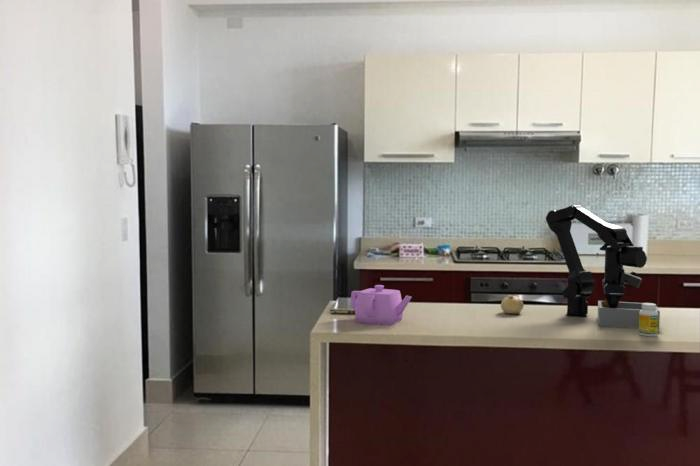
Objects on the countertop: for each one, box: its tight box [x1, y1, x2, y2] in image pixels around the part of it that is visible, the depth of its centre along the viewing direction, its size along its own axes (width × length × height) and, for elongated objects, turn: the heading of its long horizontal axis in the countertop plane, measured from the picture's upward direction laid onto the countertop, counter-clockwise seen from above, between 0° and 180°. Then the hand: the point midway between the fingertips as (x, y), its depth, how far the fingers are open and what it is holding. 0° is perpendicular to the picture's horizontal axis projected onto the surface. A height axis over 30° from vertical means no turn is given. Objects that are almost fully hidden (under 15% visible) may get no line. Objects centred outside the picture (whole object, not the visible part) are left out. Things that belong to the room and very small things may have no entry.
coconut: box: [602, 298, 620, 308], centre depth 211 cm, size 5×5×8 cm
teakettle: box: [349, 284, 412, 326], centre depth 215 cm, size 17×17×12 cm
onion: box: [500, 294, 524, 315], centre depth 228 cm, size 8×8×7 cm
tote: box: [597, 300, 661, 331], centre depth 210 cm, size 18×14×6 cm
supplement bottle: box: [638, 302, 659, 337], centre depth 193 cm, size 5×5×10 cm
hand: (612, 310), depth 211 cm, fingers open, 9 cm apart
